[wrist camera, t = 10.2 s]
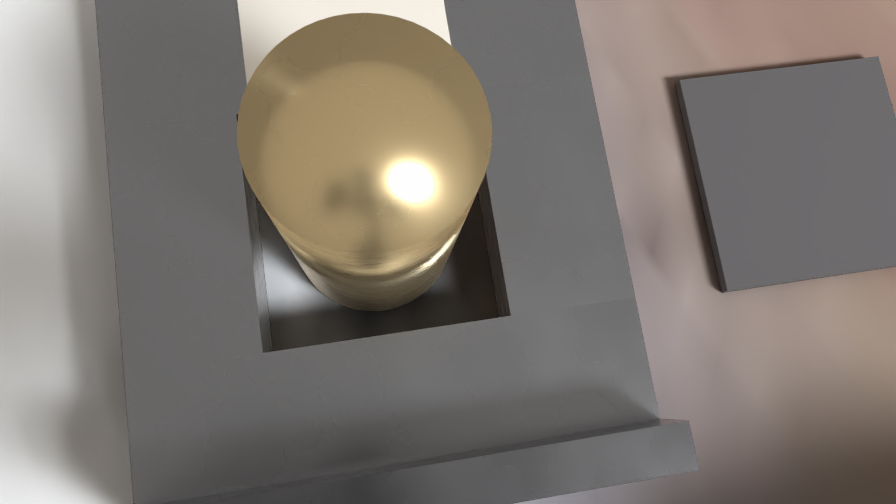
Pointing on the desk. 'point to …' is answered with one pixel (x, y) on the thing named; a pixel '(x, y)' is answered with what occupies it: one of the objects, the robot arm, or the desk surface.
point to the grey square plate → (794, 170)
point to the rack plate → (385, 356)
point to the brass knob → (366, 153)
